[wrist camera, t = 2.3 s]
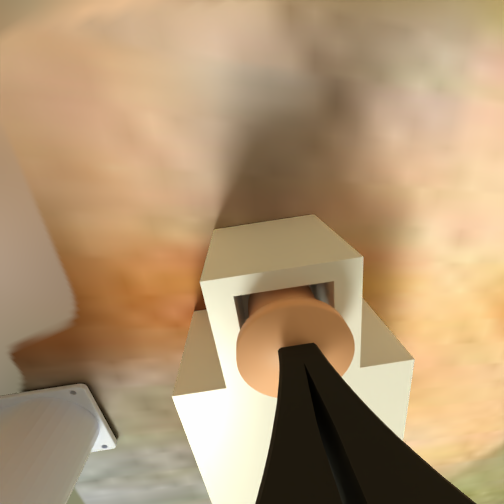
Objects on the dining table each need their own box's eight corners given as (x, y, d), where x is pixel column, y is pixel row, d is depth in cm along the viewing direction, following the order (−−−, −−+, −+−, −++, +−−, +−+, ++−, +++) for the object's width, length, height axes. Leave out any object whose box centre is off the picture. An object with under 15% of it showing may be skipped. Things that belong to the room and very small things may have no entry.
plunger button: (243, 344, 14) (245, 406, 11) (228, 271, 12) (226, 317, 9) (326, 332, 14) (353, 389, 11) (323, 256, 12) (356, 297, 9)
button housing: (228, 438, 25) (226, 542, 18) (172, 235, 17) (132, 292, 10) (351, 419, 25) (392, 516, 18) (354, 207, 17) (430, 246, 10)
